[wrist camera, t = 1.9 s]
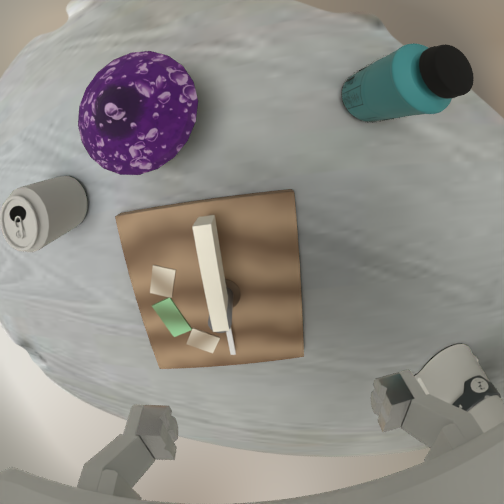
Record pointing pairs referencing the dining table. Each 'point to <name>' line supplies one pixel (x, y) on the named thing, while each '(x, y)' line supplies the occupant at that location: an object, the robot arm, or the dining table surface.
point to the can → (42, 212)
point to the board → (235, 272)
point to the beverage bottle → (408, 83)
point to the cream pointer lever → (214, 278)
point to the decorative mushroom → (137, 113)
